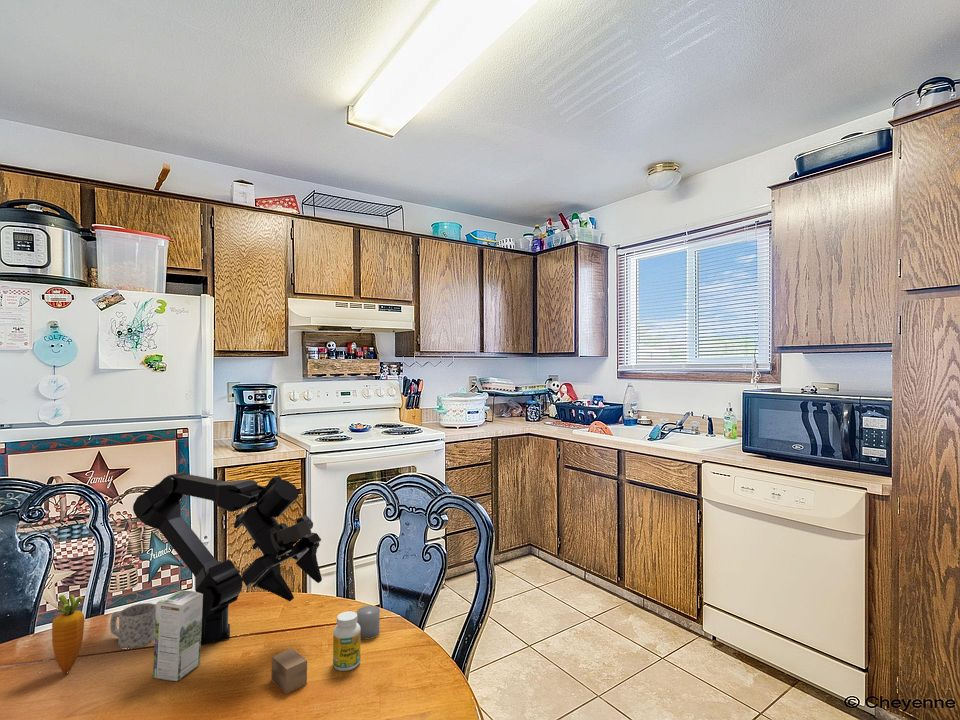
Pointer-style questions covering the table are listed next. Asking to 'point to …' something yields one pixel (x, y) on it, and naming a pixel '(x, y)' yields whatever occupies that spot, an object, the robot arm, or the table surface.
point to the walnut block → (289, 670)
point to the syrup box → (177, 635)
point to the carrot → (67, 633)
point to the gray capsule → (369, 621)
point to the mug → (134, 625)
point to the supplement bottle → (346, 642)
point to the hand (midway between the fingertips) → (306, 590)
